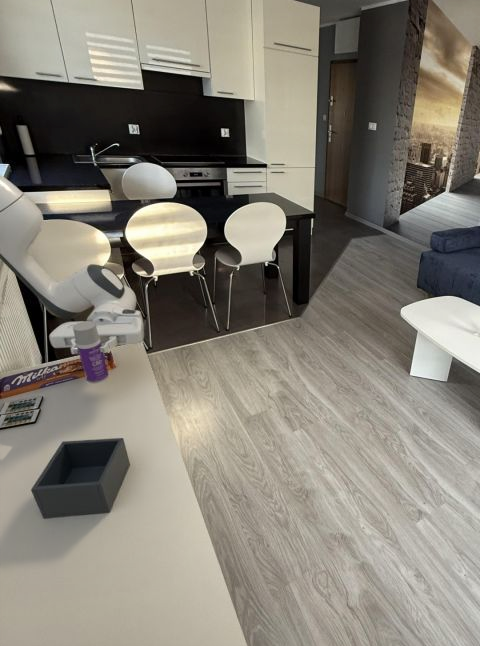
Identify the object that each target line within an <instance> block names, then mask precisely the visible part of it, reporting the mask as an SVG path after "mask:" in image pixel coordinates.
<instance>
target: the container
mask: <svg viewBox="0 0 480 646" xmlns="http://www.w3.org/2000/svg"><path fill="white" fill-rule="evenodd" d="M73 331H74V335H75V339H76V343H77V348H78V351H79V354H78V355H79V358H80V361H81V366H82V368H83V369H82V370H83V373H84V376H85V379H86V382H87V383H90V384H98V383H102V382H104V381H105V380H107V379H108V378H109V375H110V374H109V369H108V366H107V362H106V358H105V355H104V353H100V349H99V347H100V346H101V342H100V338H99V335H98V331H97V328H96V324H95V323H94V322H92V321H87V320H84V322H80V323H77V324H76V325H74V326H73Z"/></svg>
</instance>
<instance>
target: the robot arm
mask: <svg viewBox="0 0 480 646" xmlns="http://www.w3.org/2000/svg"><path fill="white" fill-rule="evenodd" d="M43 226H44V216H43V213H42V210H41V209H40V208H39V206H37V204H36V203H35V202H34V201H33V200H32V199H31V198H30V197H29V196H28V195H27V194H26V193H24V192H23V191H22V190H20V189H19V188H18V187H17V186H16V185H15V184H14V183H12V182H11V181H10V180H8V179H7V178H6V177H5V176H3V175H2V174H0V260H1V262H3V264H4V265H6V267H8V269H10V271H11V272H12V273H13V274H14V275H15V276H16V277H18V279H19V280H20V281H21V282H22V283H24V285H25V287H27V288H28V289H29V290H30V291H31V292H32V294H34V295H35V296H36V297H37V298H38V300H40V302H41V304H42V305H43V307H44V308H45V310H46V311H47V312H48V313H50V314H51V316H54V317H57V318H60V319H66V320H73V319H75V318H77V317H78V316H80V315H81V314H83V313H84V312H86V310H88V309H91V308H92V307H94V308H93V310H92V311H91V313H90V314H89V315H88V316H87V318H86V321H92V322H94V323H95V324H96V328H97V331H98V335H99V338H100V342H101V346H100V347H99V349H100V353H103V354H104V353H105V354H106V353H109V351H110V350H112V349H113V348H115V347H117V346H123V345H139V344H141V343H142V342H143V341H144V339H145V325H144V324H145V323H144V319H143V315H142V312H141V311H140V310H136V306H137V295H136V293H135V292H134V290H133V289H132V288H130V287H129V286H127V285H125V284H124V283H123V281H122V279H121V278H120V277H119V276H118V274H117V273H115V271H113V270H112V269H110V268H108V267H106V266H103V265H100V264H94V263H93V264H92V263H91V264H88V265H87V266H84V267H83V268H81V269H79V270H78V271H76V272H74V273H73V274H71V275H70V276H68V277H66V278H64V279H62V280H61V281H56V280H54V279H52V278H51V277H50V276H49V275H48V274H47V272H45V270H44V269H43V268H42V267H41V266H40V265H39V264H38V263H37V261H35V259H34V258H33V256H32V254H31V250H32V247H33V245H34V243H35V241H36V240H38V239H37V238H38V237H39V236H40V234H41V232H42V230H43ZM84 321H85V320H84ZM84 321H66V322H64V323H61V324H60V325H58V326H57V327H55V329H53V330H52V332H50V334H49V336H48V338H49V342H50V345H51V346H52V347H53V348H54V349H63V348H70V353H71V355H79V351H78V348H77V343H76V339H75V335H74V331H73V326H74V325H76V324H77V323H80V322H84Z"/></svg>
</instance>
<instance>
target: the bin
mask: <svg viewBox="0 0 480 646" xmlns="http://www.w3.org/2000/svg"><path fill="white" fill-rule="evenodd" d="M130 466H131V463H130V459H129V455H128V451H127V447H126V442H125V439H124V437H116V438H115V437H114V438H98V439H97V438H96V439H81V440H66V441H65V440H63V441H61V443H60V445H59V446H58V447H57V449H56V451H55V452H54V453H53V455H52V457H51V458H50V460H49V461H48V463H47V464H46V466H45V467H44V469H43V470H42V472H41V474H40V475H39V477H38V478H37V480H36V481H35V483H34V484H33V486H32V488H31V489H30V491H31V493H32V496H33V498H34V501H35V503H36V505H37V508H38V510H39V512H40V514H41V516H42V518H43V519H54V518H65V517H74V516H75V517H77V516H88V515H99V514H109V513H111V511H112V509H113V506H114V503H115V501H116V499H117V497H118V494H119V492H120V490H121V487H122V485H123V483H124V481H125V478H126V475H127V473H128V471H129V468H130Z"/></svg>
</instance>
